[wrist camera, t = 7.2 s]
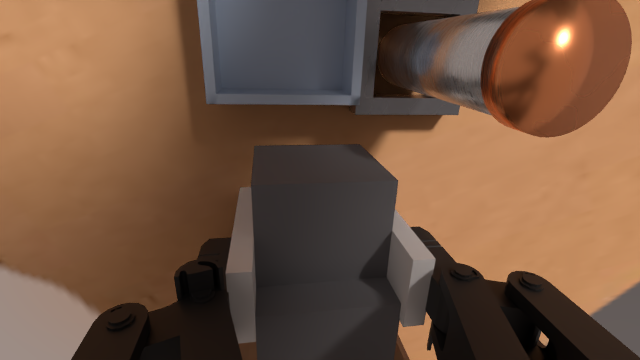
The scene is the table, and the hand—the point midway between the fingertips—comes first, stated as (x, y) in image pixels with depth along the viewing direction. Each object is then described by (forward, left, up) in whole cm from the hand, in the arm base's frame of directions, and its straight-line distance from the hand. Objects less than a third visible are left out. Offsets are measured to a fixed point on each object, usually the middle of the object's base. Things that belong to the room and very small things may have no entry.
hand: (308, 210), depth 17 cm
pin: (-7, +7, -6) cm, 11 cm away
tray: (-9, -1, -6) cm, 11 cm away
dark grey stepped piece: (0, 0, 0) cm, 1 cm away
